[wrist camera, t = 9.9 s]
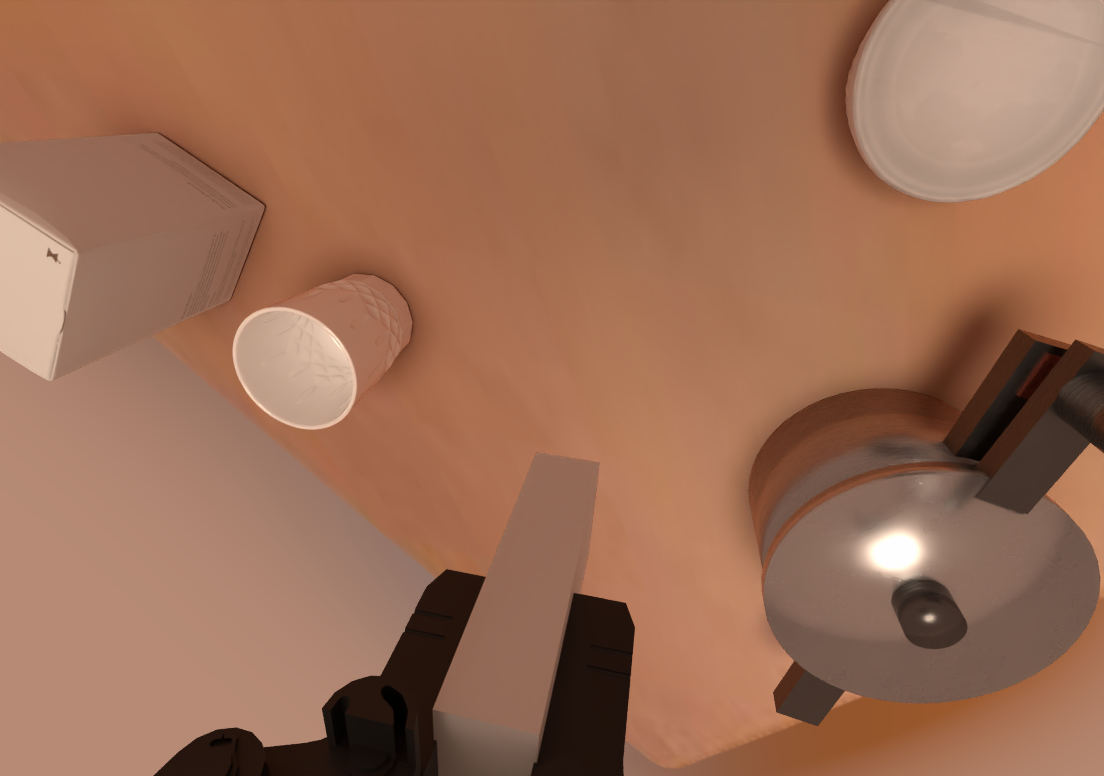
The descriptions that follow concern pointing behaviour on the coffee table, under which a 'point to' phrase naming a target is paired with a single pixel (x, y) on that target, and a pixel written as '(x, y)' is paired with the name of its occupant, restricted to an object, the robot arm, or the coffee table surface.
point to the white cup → (321, 349)
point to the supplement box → (111, 245)
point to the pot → (881, 459)
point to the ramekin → (974, 92)
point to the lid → (946, 560)
